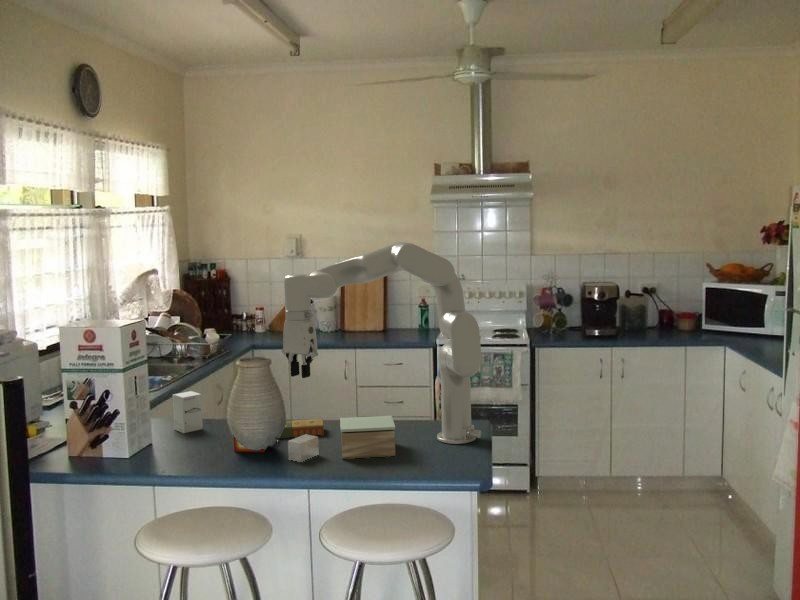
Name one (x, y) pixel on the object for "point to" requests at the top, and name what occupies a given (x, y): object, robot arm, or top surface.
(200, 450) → the top surface
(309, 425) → the carton
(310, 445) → the white rectangular block
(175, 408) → the supplement box
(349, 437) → the box
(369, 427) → the lid
